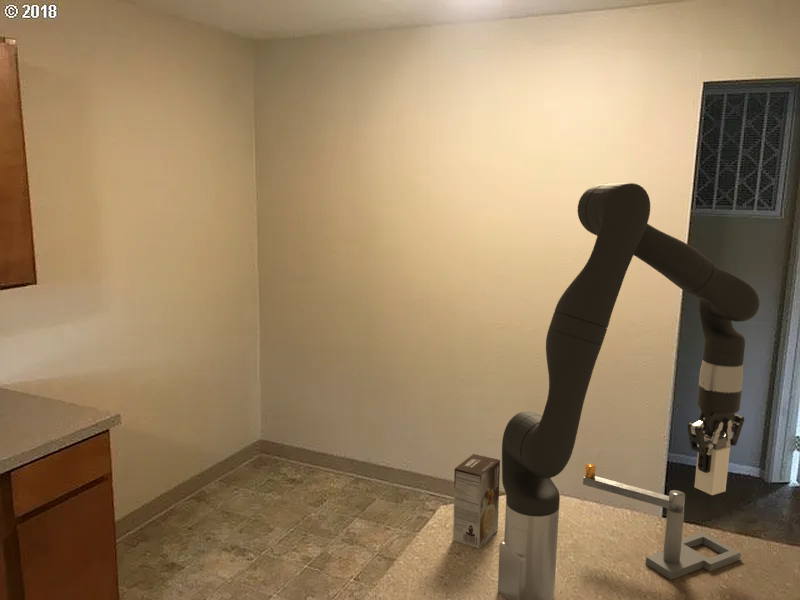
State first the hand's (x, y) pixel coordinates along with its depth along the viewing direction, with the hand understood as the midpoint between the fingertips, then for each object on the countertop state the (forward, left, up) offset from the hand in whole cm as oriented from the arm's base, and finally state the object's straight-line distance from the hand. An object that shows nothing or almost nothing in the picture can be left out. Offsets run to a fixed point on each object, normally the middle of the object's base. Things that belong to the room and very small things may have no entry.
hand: (711, 468), depth 133 cm
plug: (0, 0, -4) cm, 4 cm away
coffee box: (-37, +27, -18) cm, 49 cm away
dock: (-4, 0, -18) cm, 19 cm away
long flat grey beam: (-13, +7, -6) cm, 16 cm away
